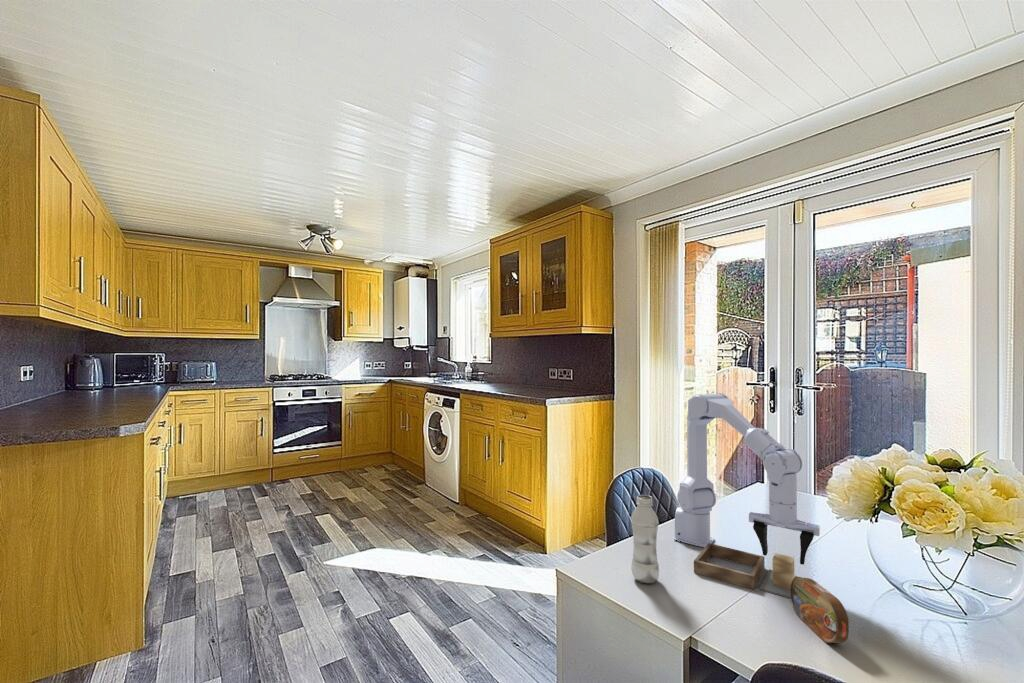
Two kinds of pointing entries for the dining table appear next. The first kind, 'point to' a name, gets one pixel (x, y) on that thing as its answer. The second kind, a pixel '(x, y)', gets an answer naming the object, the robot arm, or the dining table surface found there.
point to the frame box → (727, 573)
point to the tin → (819, 610)
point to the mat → (774, 586)
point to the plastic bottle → (644, 541)
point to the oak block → (783, 570)
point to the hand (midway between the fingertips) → (783, 558)
